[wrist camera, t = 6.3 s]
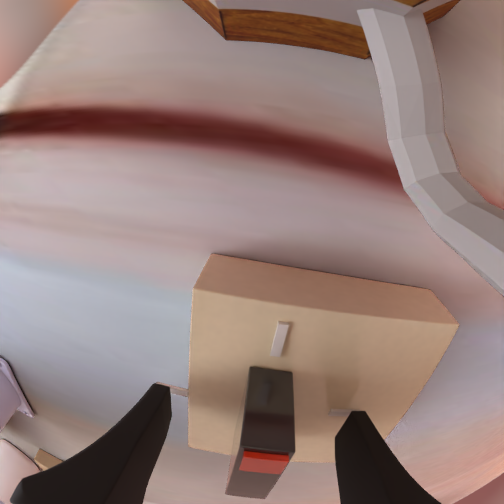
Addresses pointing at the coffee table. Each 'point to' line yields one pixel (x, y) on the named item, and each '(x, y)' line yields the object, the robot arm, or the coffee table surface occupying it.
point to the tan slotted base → (308, 349)
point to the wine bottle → (13, 469)
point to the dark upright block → (262, 433)
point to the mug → (388, 101)
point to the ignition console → (46, 460)
